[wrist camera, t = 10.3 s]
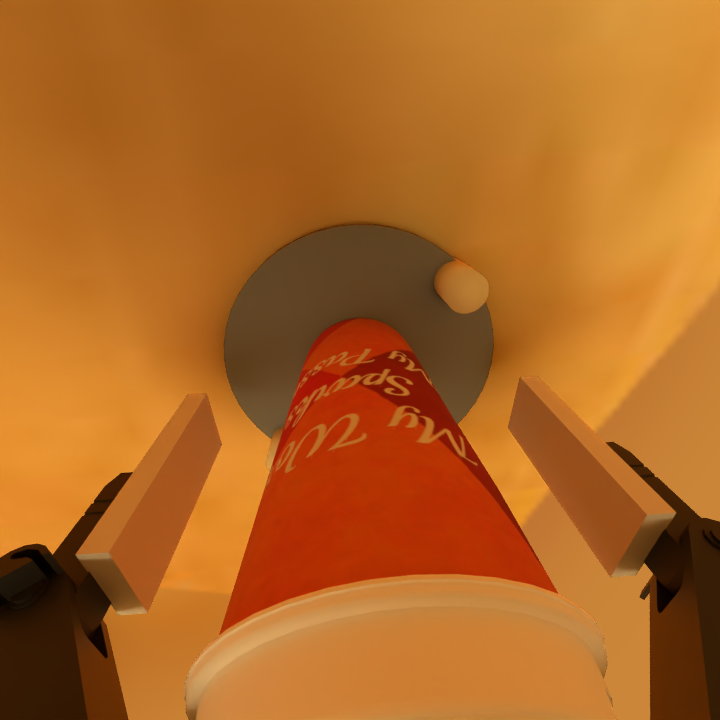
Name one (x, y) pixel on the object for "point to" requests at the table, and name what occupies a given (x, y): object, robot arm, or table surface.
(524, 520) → the table surface
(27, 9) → the table surface
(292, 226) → the table surface
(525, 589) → the paper cup
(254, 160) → the table surface
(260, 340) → the pad
